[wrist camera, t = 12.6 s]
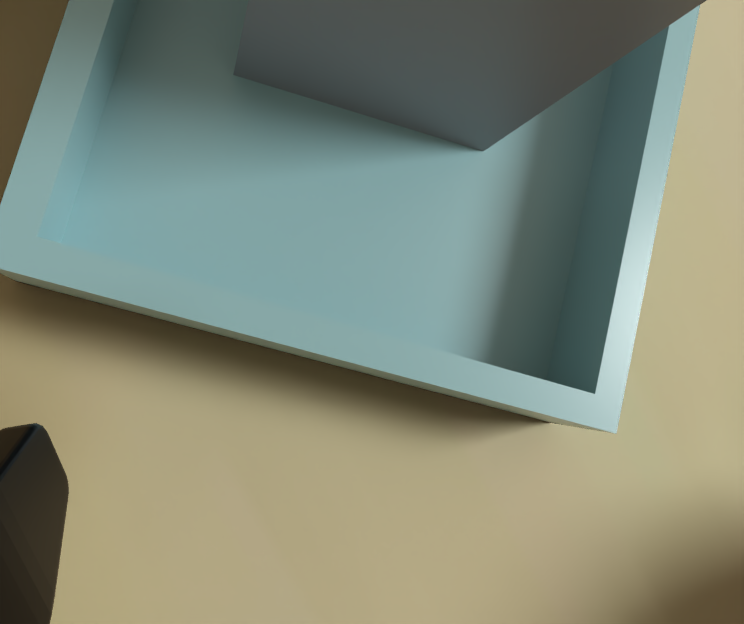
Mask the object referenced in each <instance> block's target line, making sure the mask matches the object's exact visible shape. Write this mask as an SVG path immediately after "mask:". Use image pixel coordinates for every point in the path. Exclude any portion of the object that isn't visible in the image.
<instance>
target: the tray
mask: <svg viewBox="0 0 744 624" xmlns="http://www.w3.org/2000/svg"><path fill="white" fill-rule="evenodd" d="M247 5H248V0H69V2H68V5H67V8H66V11H65V14H64V17H63V20H62V23H61V26H60V29H59V32H58V35H57V38H56V41H55V44H54V47H53V50H52V53H51V56H50V59H49V62H48V65H47V68H46V71H45V74H44V77H43V80H42V82H41V85H40V88H39V91H38V94H37V97H36V100H35V103H34V106H33V109H32V112H31V115H30V118H29V121H28V124H27V127H26V130H25V133H24V136H23V139H22V142H21V145H20V148H19V151H18V154H17V157H16V160H15V163H14V166H13V169H12V172H11V175H10V178H9V181H8V184H7V187H6V189H5V192H4V195H3V198H2V201H1V204H0V273H1V274H3V275H5V276H7V277H9V278H11V279H13V280H15V281H18V282H22V283H25V284H29V285H33V286H37V287H41V288H44V289H48V290H52V291H56V292H59V293H63V294H67V295H71V296H75V297H78V298H82V299H86V300H90V301H93V302H97V303H101V304H105V305H108V306H112V307H116V308H120V309H124V310H127V311H131V312H135V313H139V314H142V315H146V316H150V317H154V318H158V319H161V320H165V321H169V322H173V323H176V324H180V325H184V326H188V327H192V328H195V329H199V330H203V331H207V332H210V333H214V334H218V335H222V336H226V337H229V338H233V339H237V340H241V341H244V342H248V343H252V344H256V345H260V346H263V347H267V348H271V349H275V350H278V351H282V352H286V353H290V354H294V355H297V356H301V357H305V358H309V359H312V360H316V361H320V362H324V363H328V364H331V365H335V366H339V367H343V368H346V369H350V370H354V371H358V372H362V373H365V374H369V375H373V376H377V377H380V378H384V379H388V380H392V381H396V382H399V383H403V384H407V385H411V386H414V387H418V388H422V389H426V390H430V391H433V392H437V393H441V394H445V395H448V396H452V397H456V398H460V399H464V400H467V401H471V402H475V403H479V404H482V405H486V406H490V407H494V408H498V409H501V410H505V411H509V412H513V413H516V414H520V415H524V416H528V417H532V418H535V419H539V420H543V421H547V422H550V423H555V424H561V425H567V426H573V427H579V428H585V429H591V430H597V431H603V432H609V433H615V434H616V433H617V427H618V422H619V417H620V412H621V407H622V402H623V397H624V392H625V387H626V381H627V376H628V371H629V366H630V361H631V356H632V351H633V346H634V340H635V335H636V330H637V325H638V320H639V315H640V310H641V305H642V300H643V294H644V289H645V284H646V279H647V274H648V269H649V264H650V259H651V253H652V248H653V243H654V238H655V233H656V228H657V223H658V218H659V213H660V207H661V202H662V197H663V192H664V187H665V182H666V177H667V172H668V166H669V161H670V156H671V151H672V146H673V141H674V136H675V131H676V126H677V120H678V115H679V110H680V105H681V100H682V95H683V90H684V85H685V79H686V74H687V69H688V64H689V59H690V54H691V49H692V44H693V39H694V33H695V28H696V23H697V18H698V13H699V8H700V5H699V6H697V7H696V8H694V9H693V10H691V11H690V12H688V13H687V14H685V15H684V16H682V17H681V18H680V19H678V20H677V21H675V22H674V23H672V24H671V25H669V26H668V27H666V28H665V29H663V30H662V31H660V32H659V33H657V34H656V35H654V36H653V37H652V38H650V39H649V40H647V41H646V42H644V43H643V44H641V45H640V46H638V47H637V48H635V49H634V50H632V51H631V52H629V53H628V54H626V55H625V56H623V57H622V58H621V59H619V60H618V61H616V62H615V63H613V64H612V65H610V66H609V67H607V68H606V69H604V70H603V71H601V72H600V73H598V74H597V75H595V76H594V77H592V78H591V79H590V80H588V81H587V82H585V83H584V84H582V85H581V86H579V87H578V88H576V89H575V90H573V91H572V92H570V93H569V94H567V95H566V96H564V97H563V98H561V99H560V100H559V101H557V102H556V103H554V104H553V105H551V106H550V107H548V108H547V109H545V110H544V111H542V112H541V113H539V114H538V115H536V116H535V117H533V118H532V119H531V120H529V121H528V122H526V123H525V124H523V125H522V126H520V127H519V128H517V129H516V130H514V131H513V132H511V133H510V134H508V135H507V136H505V137H504V138H502V139H501V140H500V141H498V142H497V143H495V144H494V145H492V146H491V147H489V148H488V149H486V150H485V151H480V150H477V149H473V148H470V147H467V146H464V145H460V144H457V143H454V142H451V141H447V140H444V139H441V138H438V137H434V136H431V135H428V134H425V133H421V132H418V131H415V130H412V129H408V128H405V127H402V126H398V125H395V124H392V123H389V122H385V121H382V120H379V119H376V118H372V117H369V116H366V115H363V114H359V113H356V112H353V111H350V110H346V109H343V108H340V107H337V106H333V105H330V104H327V103H324V102H320V101H317V100H314V99H310V98H307V97H304V96H301V95H297V94H294V93H291V92H288V91H284V90H281V89H278V88H275V87H271V86H268V85H265V84H262V83H258V82H255V81H252V80H249V79H245V78H242V77H239V76H236V75H233V74H234V69H235V64H236V59H237V54H238V49H239V44H240V39H241V34H242V29H243V24H244V20H245V15H246V10H247Z"/></svg>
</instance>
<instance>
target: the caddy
mask: <svg viewBox="0 0 744 624" xmlns="http://www.w3.org/2000/svg"><path fill="white" fill-rule="evenodd" d="M705 1H706V0H248V5H247V10H246V15H245V20H244V24H243V29H242V34H241V39H240V44H239V49H238V54H237V59H236V64H235V69H234V74H233V75H236V76H239V77H242V78H245V79H249V80H252V81H255V82H258V83H262V84H265V85H268V86H271V87H275V88H278V89H281V90H284V91H288V92H291V93H294V94H297V95H301V96H304V97H307V98H310V99H314V100H317V101H320V102H324V103H327V104H330V105H333V106H337V107H340V108H343V109H346V110H350V111H353V112H356V113H359V114H363V115H366V116H369V117H372V118H376V119H379V120H382V121H385V122H389V123H392V124H395V125H398V126H402V127H405V128H408V129H412V130H415V131H418V132H421V133H425V134H428V135H431V136H434V137H438V138H441V139H444V140H447V141H451V142H454V143H457V144H460V145H464V146H467V147H470V148H473V149H477V150H480V151H485V150H486V149H488V148H489V147H491V146H492V145H494V144H495V143H497V142H498V141H500V140H501V139H502V138H504V137H505V136H507V135H508V134H510V133H511V132H513V131H514V130H516V129H517V128H519V127H520V126H522V125H523V124H525V123H526V122H528V121H529V120H531V119H532V118H533V117H535V116H536V115H538V114H539V113H541V112H542V111H544V110H545V109H547V108H548V107H550V106H551V105H553V104H554V103H556V102H557V101H559V100H560V99H561V98H563V97H564V96H566V95H567V94H569V93H570V92H572V91H573V90H575V89H576V88H578V87H579V86H581V85H582V84H584V83H585V82H587V81H588V80H590V79H591V78H592V77H594V76H595V75H597V74H598V73H600V72H601V71H603V70H604V69H606V68H607V67H609V66H610V65H612V64H613V63H615V62H616V61H618V60H619V59H621V58H622V57H623V56H625V55H626V54H628V53H629V52H631V51H632V50H634V49H635V48H637V47H638V46H640V45H641V44H643V43H644V42H646V41H647V40H649V39H650V38H652V37H653V36H654V35H656V34H657V33H659V32H660V31H662V30H663V29H665V28H666V27H668V26H669V25H671V24H672V23H674V22H675V21H677V20H678V19H680V18H681V17H682V16H684V15H685V14H687V13H688V12H690V11H691V10H693V9H694V8H696V7H697V6H699V5H700V4H702V3H703V2H705Z"/></svg>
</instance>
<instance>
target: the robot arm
mask: <svg viewBox="0 0 744 624" xmlns="http://www.w3.org/2000/svg"><path fill="white" fill-rule="evenodd" d="M68 494H69V487H68V480H67V476H66V473H65V471H64V469H63V466H62V464H61V462H60V460H59V457H58V455H57V453H56V451H55V448H54V446H53V444H52V442H51V439H50V437H49V435H48V433H47V431H46V430H45V428H44V427H43V426H41V425H39V424H37V423H33V424H27V425H21V426H14V427H8V428H4V429H2V430H0V624H50V620H51V615H52V609H53V603H54V597H55V591H56V583H57V576H58V569H59V561H60V554H61V547H62V539H63V532H64V524H65V517H66V510H67V502H68Z"/></svg>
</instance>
